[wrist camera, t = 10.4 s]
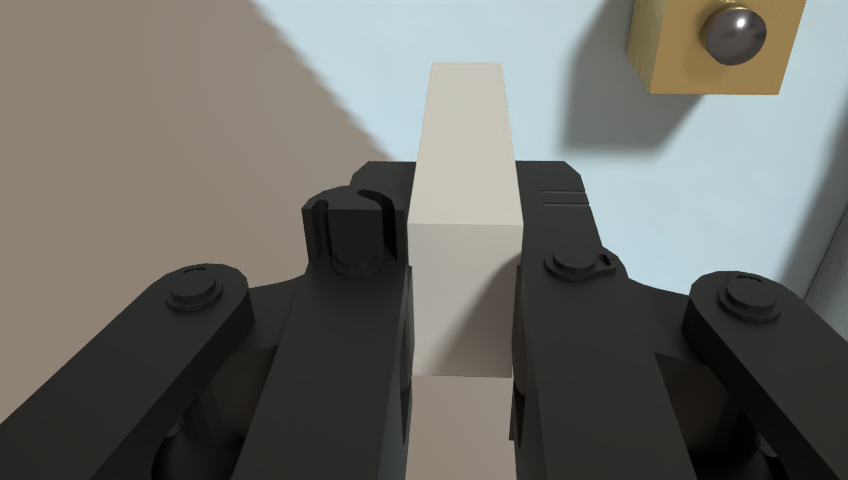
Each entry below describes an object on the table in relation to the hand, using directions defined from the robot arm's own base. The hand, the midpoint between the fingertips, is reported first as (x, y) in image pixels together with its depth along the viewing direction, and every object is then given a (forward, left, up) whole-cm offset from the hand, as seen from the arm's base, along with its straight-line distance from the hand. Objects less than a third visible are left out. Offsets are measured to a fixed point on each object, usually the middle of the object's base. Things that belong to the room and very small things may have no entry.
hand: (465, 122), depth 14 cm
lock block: (-8, 0, -11) cm, 14 cm away
